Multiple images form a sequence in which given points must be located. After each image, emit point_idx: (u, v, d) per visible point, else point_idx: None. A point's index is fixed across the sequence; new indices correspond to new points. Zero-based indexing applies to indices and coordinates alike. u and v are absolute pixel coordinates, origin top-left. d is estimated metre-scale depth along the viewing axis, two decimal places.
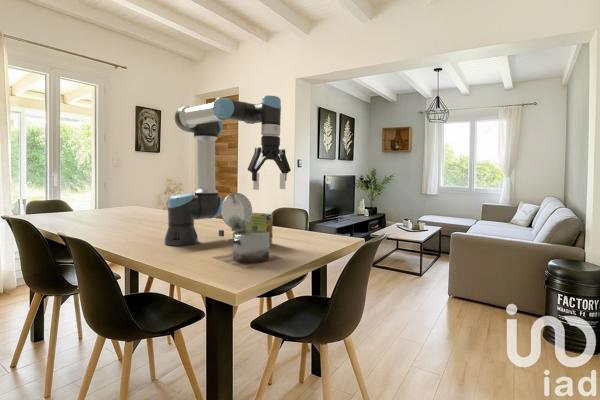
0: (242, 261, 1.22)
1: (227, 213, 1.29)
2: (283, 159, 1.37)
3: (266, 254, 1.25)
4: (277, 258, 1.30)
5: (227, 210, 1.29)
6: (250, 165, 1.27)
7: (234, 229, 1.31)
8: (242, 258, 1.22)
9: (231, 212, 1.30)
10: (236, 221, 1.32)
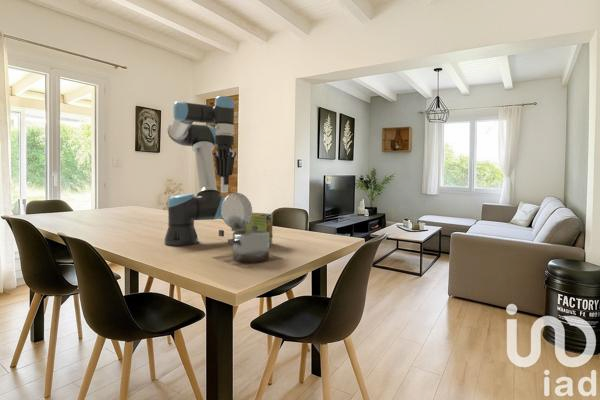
0: (242, 261, 1.22)
1: (227, 213, 1.29)
2: None
3: (266, 254, 1.25)
4: (277, 258, 1.30)
5: (227, 210, 1.29)
6: None
7: (234, 229, 1.31)
8: (242, 258, 1.22)
9: (231, 212, 1.30)
10: (236, 221, 1.32)
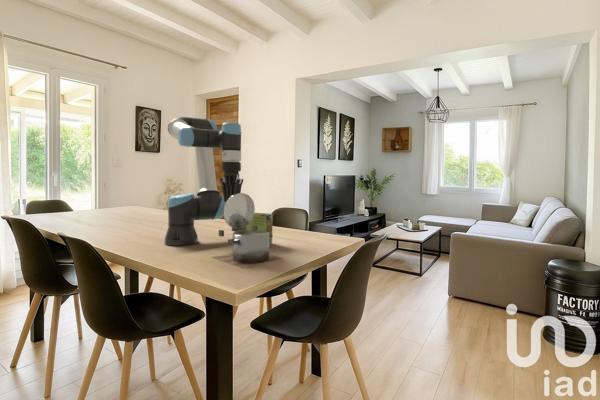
0: (242, 261, 1.22)
1: (229, 213, 1.28)
2: None
3: (266, 254, 1.25)
4: (277, 258, 1.30)
5: (230, 211, 1.28)
6: None
7: (234, 229, 1.31)
8: (242, 258, 1.22)
9: (233, 213, 1.29)
10: (237, 221, 1.31)
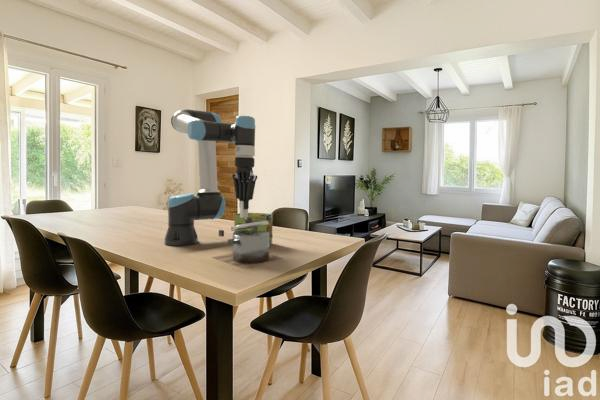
0: (242, 261, 1.22)
1: None
2: None
3: (266, 254, 1.25)
4: (277, 258, 1.30)
5: (240, 228, 1.24)
6: None
7: (233, 230, 1.31)
8: (242, 258, 1.22)
9: (242, 228, 1.26)
10: (240, 229, 1.30)
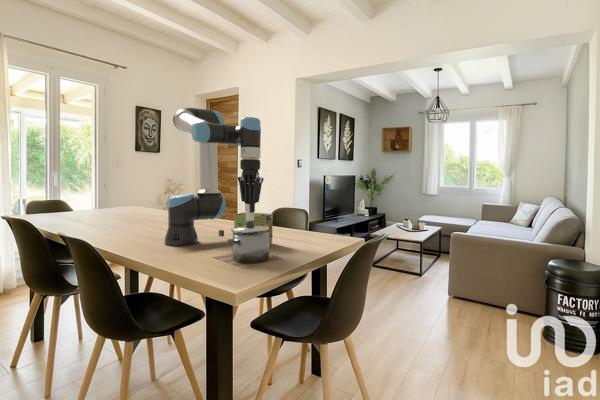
0: (242, 261, 1.22)
1: None
2: None
3: (266, 254, 1.25)
4: (277, 258, 1.30)
5: None
6: None
7: None
8: (242, 258, 1.22)
9: None
10: None
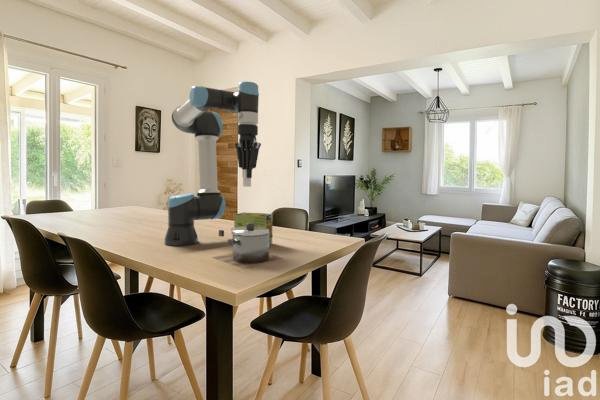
0: (242, 261, 1.22)
1: None
2: None
3: (266, 254, 1.25)
4: (277, 258, 1.30)
5: None
6: None
7: None
8: (242, 258, 1.22)
9: None
10: None
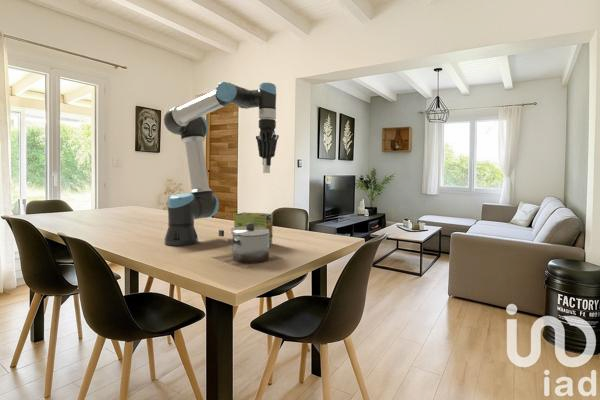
0: (242, 261, 1.22)
1: None
2: None
3: (266, 254, 1.25)
4: (277, 258, 1.30)
5: None
6: None
7: None
8: (242, 258, 1.22)
9: None
10: None
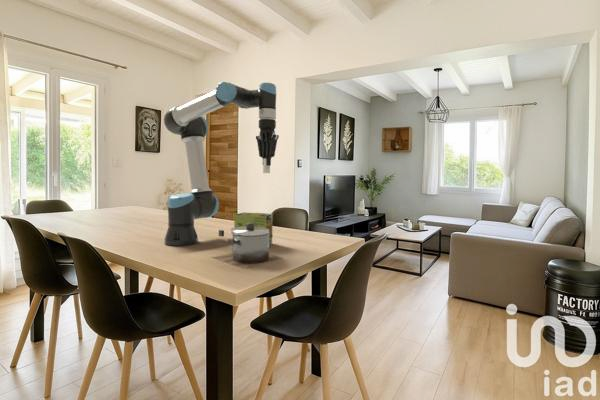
0: (242, 261, 1.22)
1: None
2: None
3: (266, 254, 1.25)
4: (277, 258, 1.30)
5: None
6: None
7: None
8: (242, 258, 1.22)
9: None
10: None
